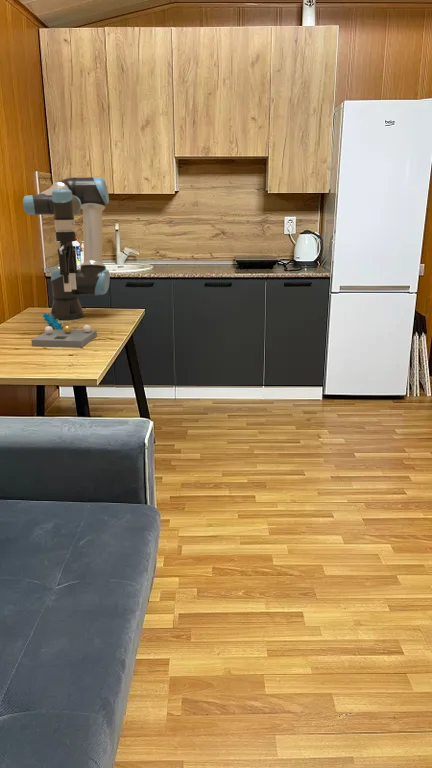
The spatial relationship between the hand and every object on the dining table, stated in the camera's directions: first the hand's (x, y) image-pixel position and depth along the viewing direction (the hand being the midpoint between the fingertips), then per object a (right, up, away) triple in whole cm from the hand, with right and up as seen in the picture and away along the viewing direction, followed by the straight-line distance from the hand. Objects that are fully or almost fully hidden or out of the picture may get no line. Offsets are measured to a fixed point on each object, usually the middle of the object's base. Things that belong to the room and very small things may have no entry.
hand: (70, 290), depth 228 cm
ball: (-1, -16, -2) cm, 16 cm away
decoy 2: (+7, -16, -1) cm, 17 cm away
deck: (-1, -21, -3) cm, 21 cm away
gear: (-11, -15, +15) cm, 24 cm away
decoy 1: (-8, -17, -3) cm, 19 cm away
